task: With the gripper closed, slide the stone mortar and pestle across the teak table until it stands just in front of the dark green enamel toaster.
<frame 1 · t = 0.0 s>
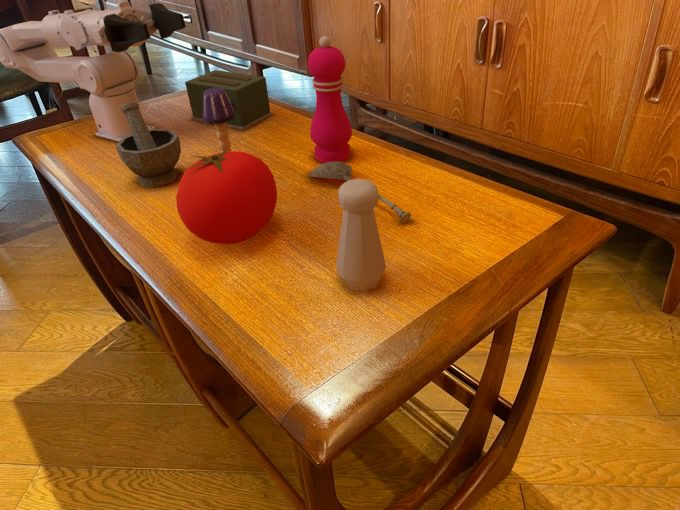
hand: (165, 26, 82), 22 cm above the table, tool horizontal, fingers open, 7 cm apart
salt shaker: (361, 281, 61), on the table
toaster: (232, 117, 108), on the table
tomato: (235, 233, 71), on the table
mortar and pestle: (157, 177, 86), on the table
toy lamp: (236, 197, 79), on the table
pepper mill: (332, 157, 89), on the table
soupspoon: (357, 195, 78), on the table
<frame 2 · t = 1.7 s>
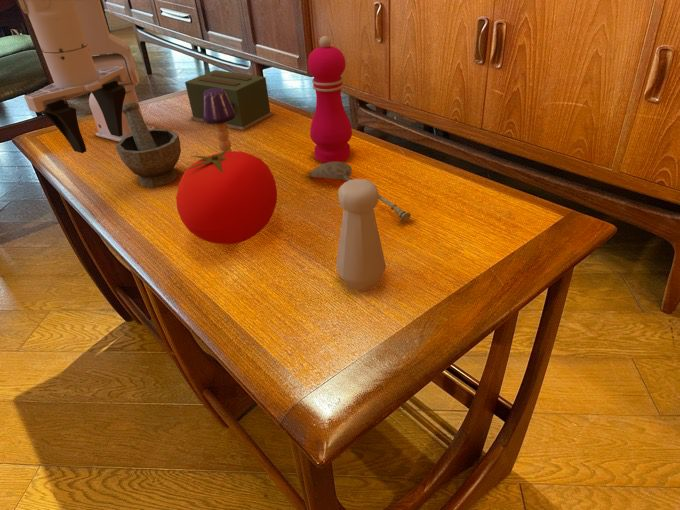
hand: (99, 142, 75), 9 cm above the table, tool pointing down, fingers open, 6 cm apart
nothing on the table moved.
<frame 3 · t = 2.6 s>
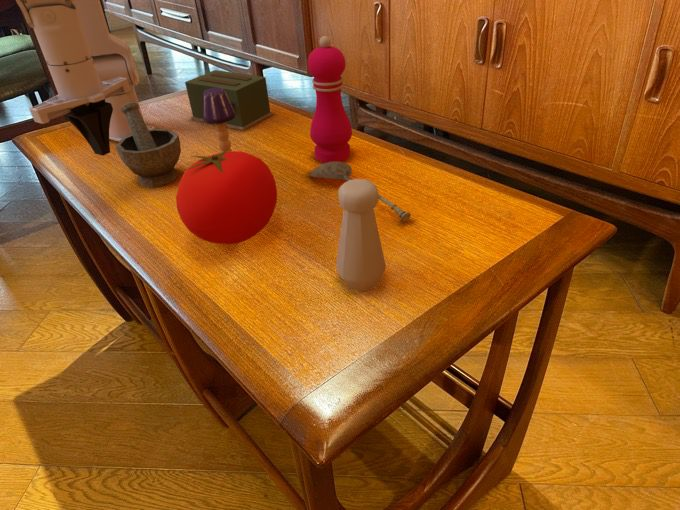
hand: (102, 152, 76), 8 cm above the table, tool pointing down, fingers closed
nothing on the table moved.
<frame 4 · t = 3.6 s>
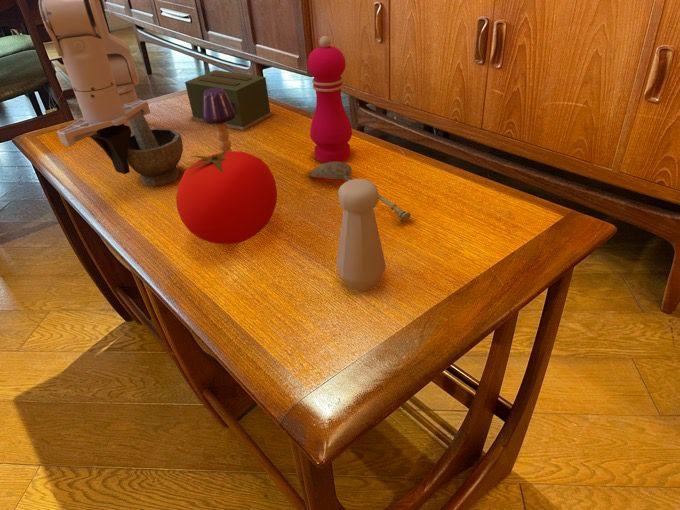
hand: (123, 171, 80), 4 cm above the table, tool pointing down, fingers closed
mortar and pestle: (159, 177, 87), on the table, touching gripper
everything else where it was.
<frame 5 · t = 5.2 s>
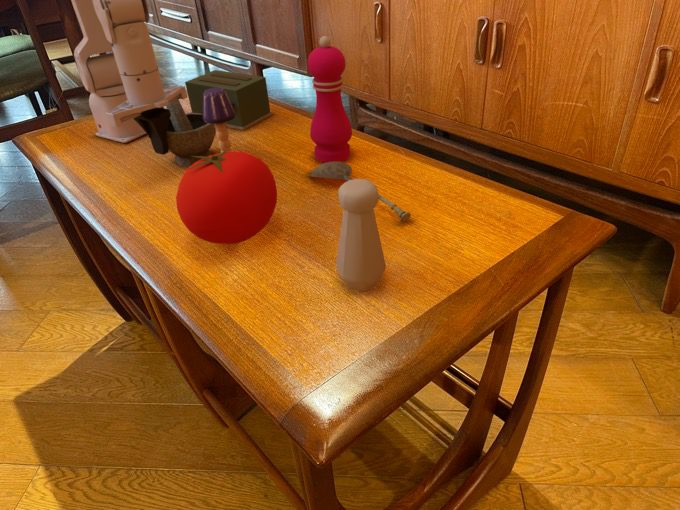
hand: (162, 152, 86), 4 cm above the table, tool pointing down, fingers closed
mortar and pestle: (192, 159, 92), on the table, touching gripper
everything else where it was.
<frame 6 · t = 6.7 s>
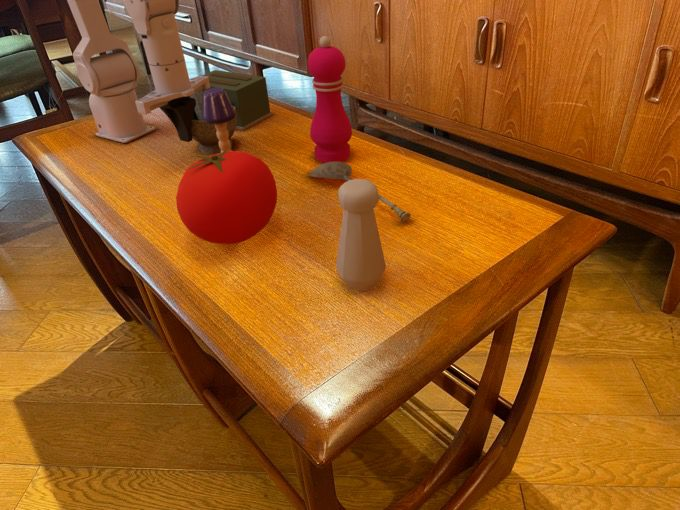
hand: (186, 140, 89), 4 cm above the table, tool pointing down, fingers closed
mortar and pestle: (214, 147, 96), on the table, touching gripper
everything else where it was.
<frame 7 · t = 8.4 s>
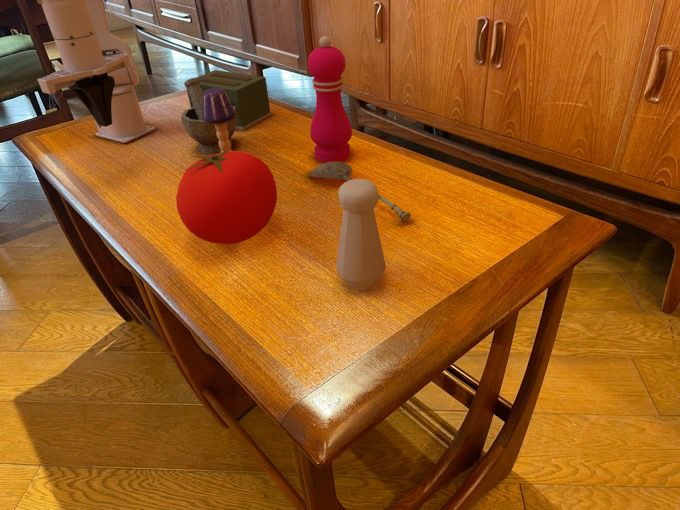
hand: (105, 124, 82), 9 cm above the table, tool pointing down, fingers closed
mortar and pestle: (214, 146, 96), on the table
everything else where it was.
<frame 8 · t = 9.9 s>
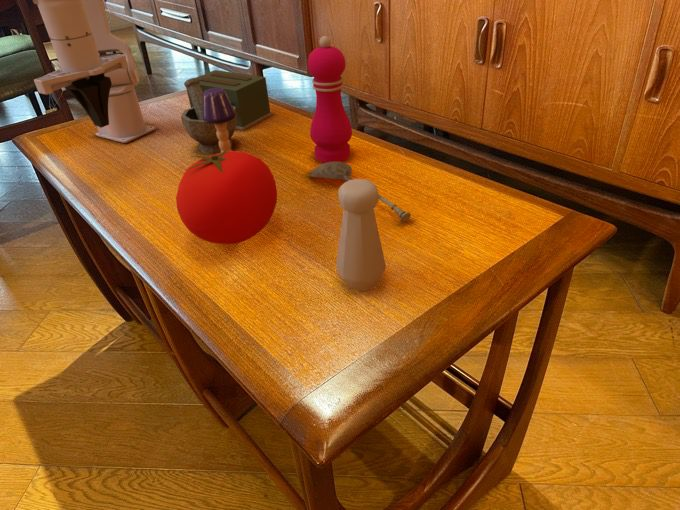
hand: (102, 125, 82), 9 cm above the table, tool pointing down, fingers closed
nothing on the table moved.
at the end: mortar and pestle inside the target area on the table beside the toaster (3.1 cm from its centre), on the table; mortar and pestle moved 14.1 cm from its start; mortar and pestle tilted 0° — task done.
